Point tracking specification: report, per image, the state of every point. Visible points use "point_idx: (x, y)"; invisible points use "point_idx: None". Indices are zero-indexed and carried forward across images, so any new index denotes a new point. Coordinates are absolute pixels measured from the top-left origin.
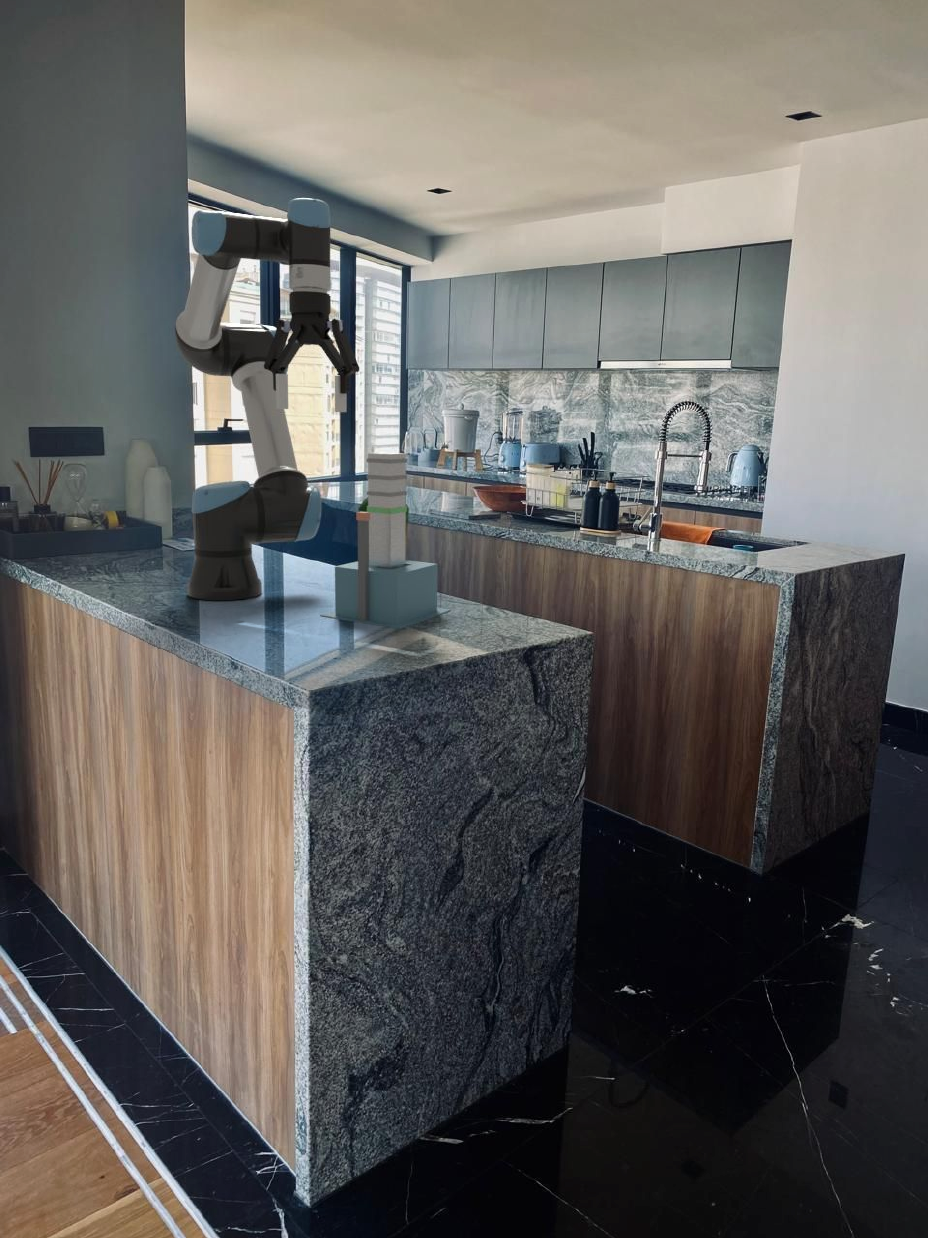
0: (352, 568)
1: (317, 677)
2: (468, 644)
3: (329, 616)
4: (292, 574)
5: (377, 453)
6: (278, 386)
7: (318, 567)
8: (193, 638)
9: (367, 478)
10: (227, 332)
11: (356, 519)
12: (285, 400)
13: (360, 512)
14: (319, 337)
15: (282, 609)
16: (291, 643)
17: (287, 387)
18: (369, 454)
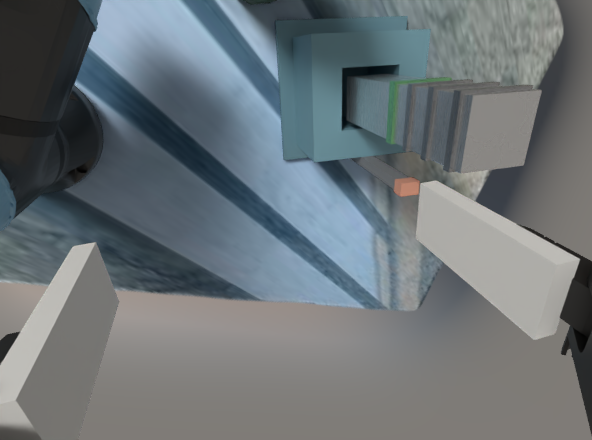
0: (344, 156)
1: (404, 292)
2: None
3: (298, 158)
4: None
5: (485, 165)
6: (86, 392)
7: None
8: (240, 294)
9: (422, 158)
10: None
11: (394, 192)
12: (92, 286)
13: (407, 194)
14: None
15: (202, 150)
16: (327, 247)
17: (62, 322)
18: (462, 171)
